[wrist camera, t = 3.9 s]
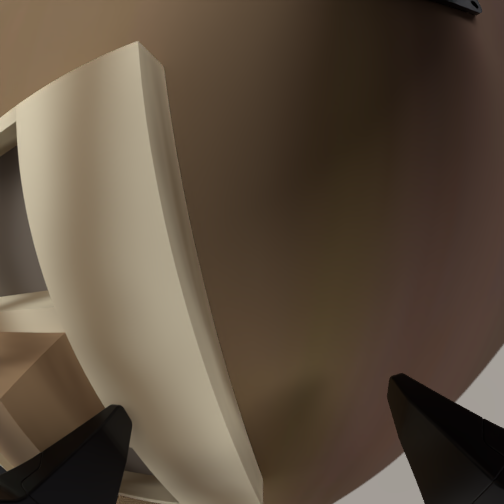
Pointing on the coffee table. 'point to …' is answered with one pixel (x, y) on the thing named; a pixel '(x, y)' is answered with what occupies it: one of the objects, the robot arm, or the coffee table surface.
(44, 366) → the walnut block
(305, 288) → the coffee table surface
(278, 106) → the coffee table surface
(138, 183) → the board
